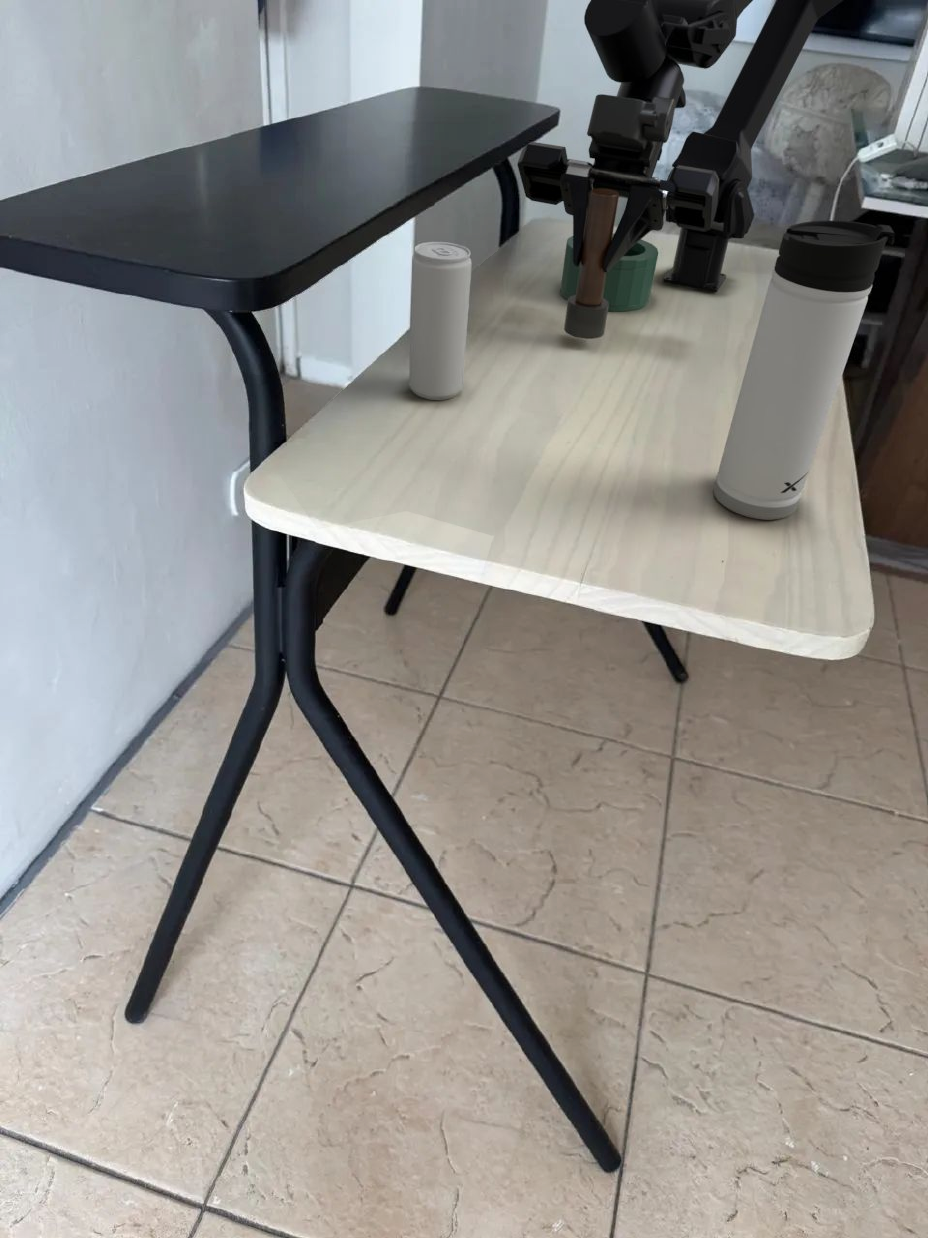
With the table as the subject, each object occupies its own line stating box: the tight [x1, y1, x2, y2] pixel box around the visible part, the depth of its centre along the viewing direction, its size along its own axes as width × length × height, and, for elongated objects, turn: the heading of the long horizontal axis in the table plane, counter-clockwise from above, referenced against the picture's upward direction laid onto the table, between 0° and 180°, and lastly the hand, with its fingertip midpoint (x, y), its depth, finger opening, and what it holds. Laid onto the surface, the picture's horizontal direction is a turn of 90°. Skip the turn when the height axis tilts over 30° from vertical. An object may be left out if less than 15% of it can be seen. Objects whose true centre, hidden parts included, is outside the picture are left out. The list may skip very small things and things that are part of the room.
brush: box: [563, 188, 620, 340], centre depth 88 cm, size 4×4×13 cm
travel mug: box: [712, 220, 896, 521], centre depth 64 cm, size 6×7×20 cm
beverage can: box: [408, 241, 473, 401], centre depth 78 cm, size 5×5×12 cm
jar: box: [560, 233, 659, 312], centre depth 103 cm, size 10×10×6 cm
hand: (589, 266), depth 87 cm, fingers closed on brush, 2 cm apart
